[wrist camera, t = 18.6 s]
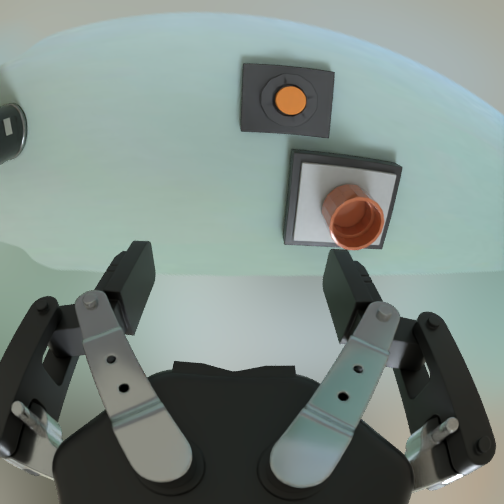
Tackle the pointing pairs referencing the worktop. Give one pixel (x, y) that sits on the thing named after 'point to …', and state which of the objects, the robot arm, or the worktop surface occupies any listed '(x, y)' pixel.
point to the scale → (323, 182)
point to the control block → (264, 107)
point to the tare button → (290, 100)
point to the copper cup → (352, 217)
